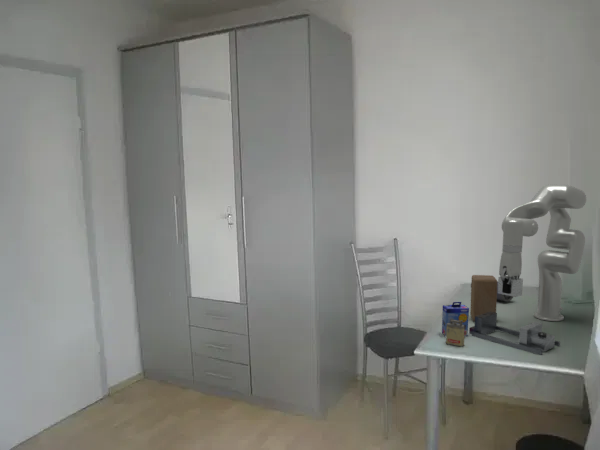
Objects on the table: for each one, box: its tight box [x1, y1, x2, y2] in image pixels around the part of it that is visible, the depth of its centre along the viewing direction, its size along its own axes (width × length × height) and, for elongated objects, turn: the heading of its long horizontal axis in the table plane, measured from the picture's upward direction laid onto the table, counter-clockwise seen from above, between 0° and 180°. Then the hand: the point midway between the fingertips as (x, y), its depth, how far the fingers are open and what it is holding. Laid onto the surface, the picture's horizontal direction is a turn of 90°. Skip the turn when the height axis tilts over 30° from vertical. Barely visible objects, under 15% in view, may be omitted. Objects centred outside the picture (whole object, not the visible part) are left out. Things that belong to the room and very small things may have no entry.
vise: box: [468, 311, 561, 356], centre depth 205 cm, size 16×31×8 cm, turn 39°
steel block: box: [497, 276, 524, 298], centre depth 211 cm, size 5×8×7 cm, turn 38°
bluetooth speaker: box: [497, 280, 514, 302], centre depth 270 cm, size 23×9×10 cm, turn 25°
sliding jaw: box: [518, 321, 556, 352], centre depth 197 cm, size 12×9×8 cm
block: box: [469, 274, 498, 322], centre depth 232 cm, size 10×10×20 cm
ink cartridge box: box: [441, 301, 470, 337], centre depth 212 cm, size 10×6×14 cm, turn 95°
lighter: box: [445, 319, 465, 347], centre depth 201 cm, size 7×4×10 cm, turn 57°
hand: (509, 291), depth 211 cm, fingers closed on steel block, 5 cm apart
